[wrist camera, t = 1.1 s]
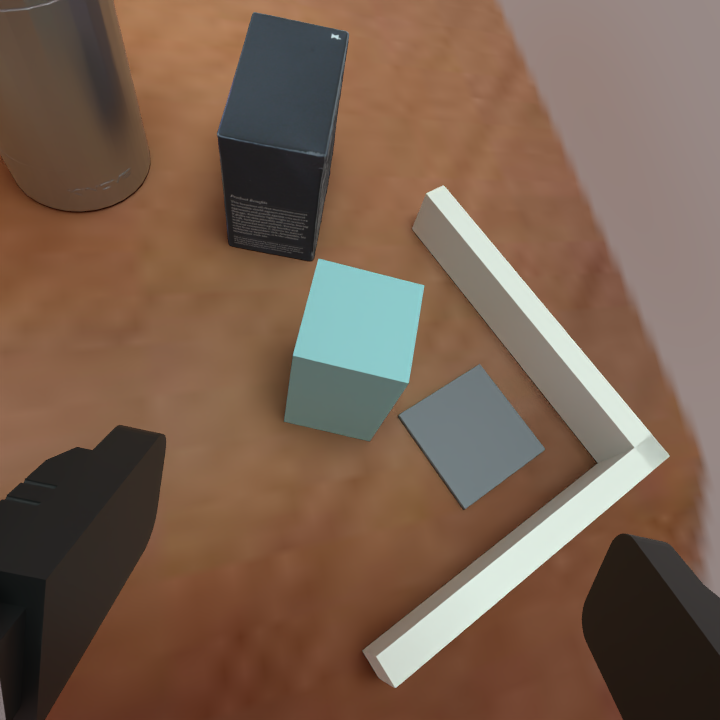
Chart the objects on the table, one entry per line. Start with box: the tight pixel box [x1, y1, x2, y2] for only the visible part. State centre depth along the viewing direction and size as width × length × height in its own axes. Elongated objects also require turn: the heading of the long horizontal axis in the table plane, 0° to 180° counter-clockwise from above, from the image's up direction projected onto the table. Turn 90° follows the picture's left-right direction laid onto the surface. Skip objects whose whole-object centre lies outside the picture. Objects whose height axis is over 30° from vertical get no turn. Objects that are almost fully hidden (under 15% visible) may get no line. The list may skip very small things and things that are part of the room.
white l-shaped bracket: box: [362, 185, 669, 688], centre depth 34 cm, size 23×21×4 cm
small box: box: [217, 12, 349, 261], centre depth 37 cm, size 11×6×10 cm, turn 174°
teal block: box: [284, 259, 424, 441], centre depth 31 cm, size 6×6×10 cm
